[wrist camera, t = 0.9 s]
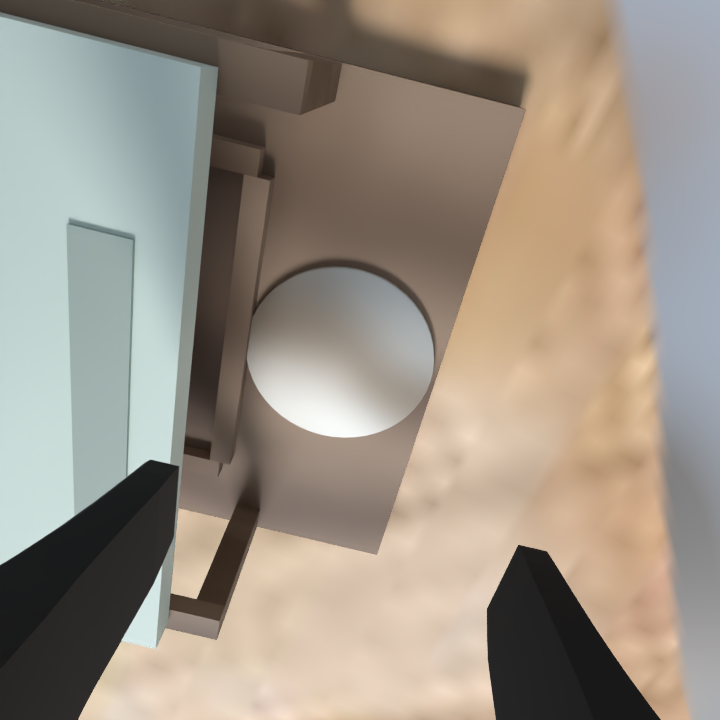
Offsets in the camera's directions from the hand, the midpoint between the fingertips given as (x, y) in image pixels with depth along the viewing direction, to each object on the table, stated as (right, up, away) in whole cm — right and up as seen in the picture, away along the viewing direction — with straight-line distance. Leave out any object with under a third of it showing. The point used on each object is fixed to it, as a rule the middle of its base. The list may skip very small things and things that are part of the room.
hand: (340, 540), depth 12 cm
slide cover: (-9, +3, +3) cm, 10 cm away
